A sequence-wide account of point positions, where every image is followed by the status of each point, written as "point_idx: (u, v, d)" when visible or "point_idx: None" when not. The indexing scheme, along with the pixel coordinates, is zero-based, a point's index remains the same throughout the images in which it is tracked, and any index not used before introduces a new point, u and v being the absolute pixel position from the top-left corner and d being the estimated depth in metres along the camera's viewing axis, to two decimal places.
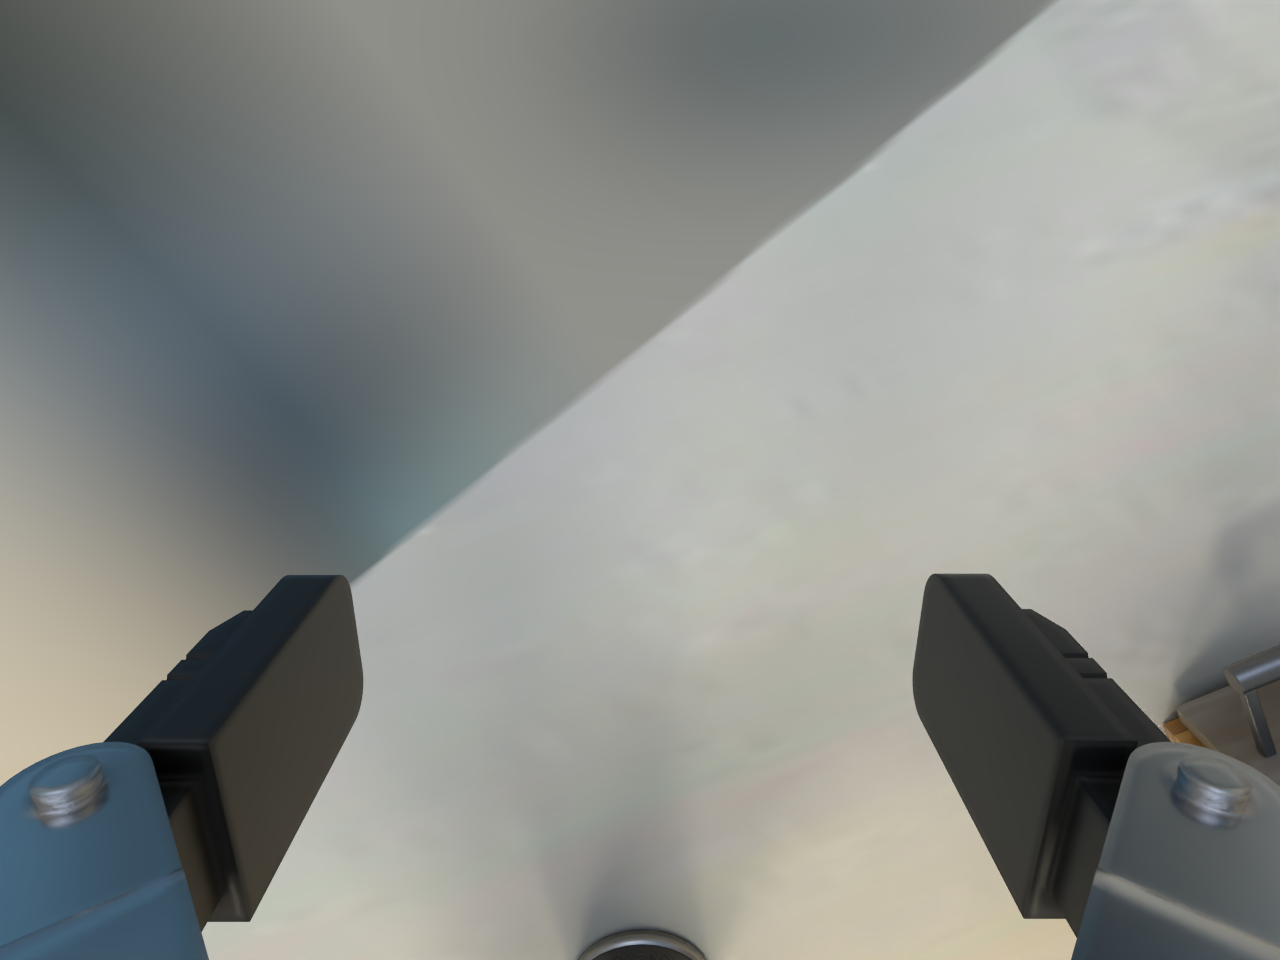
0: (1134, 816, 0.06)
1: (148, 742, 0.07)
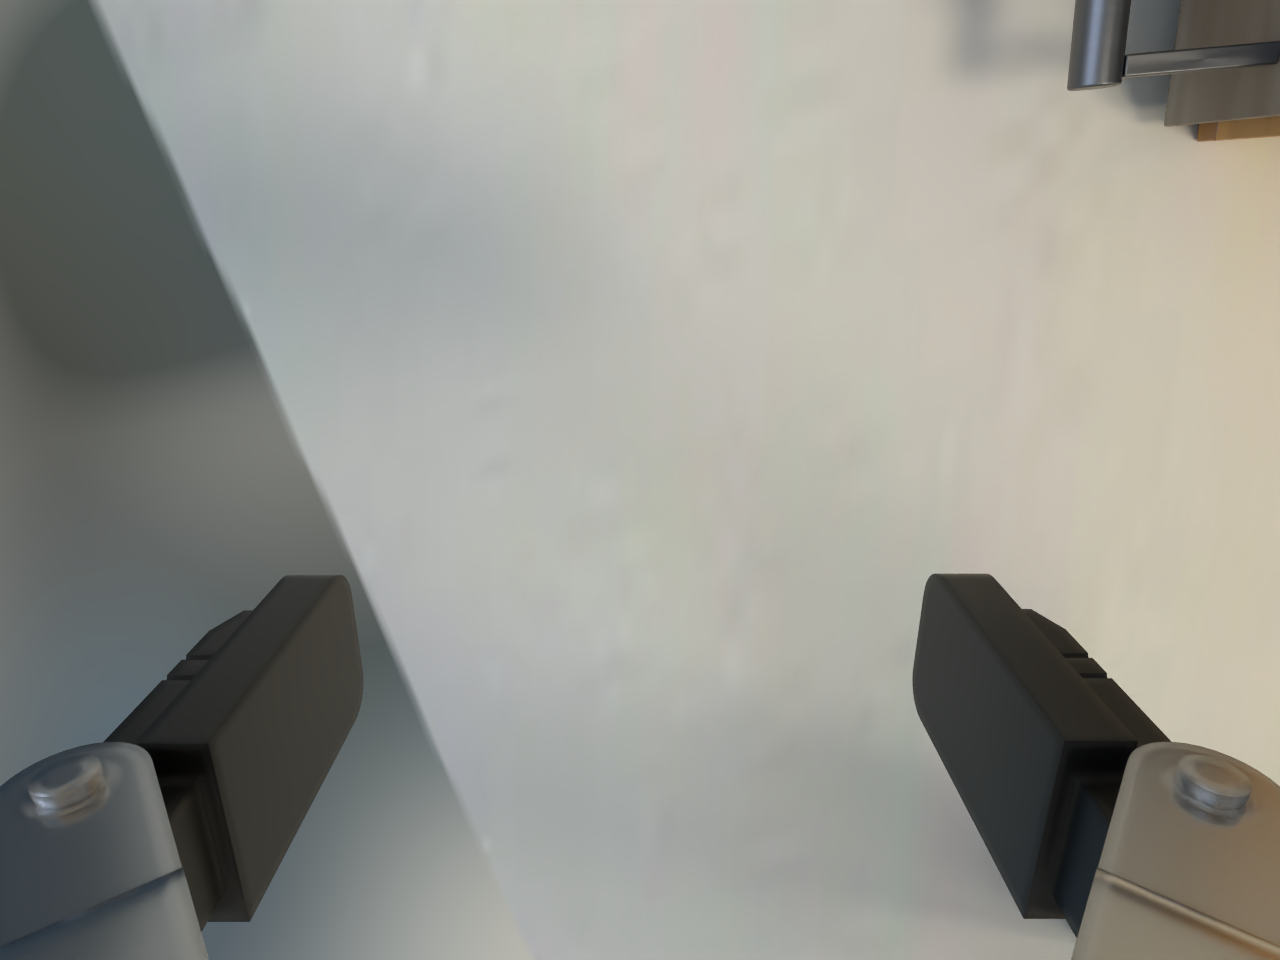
0: (1134, 816, 0.06)
1: (148, 742, 0.07)
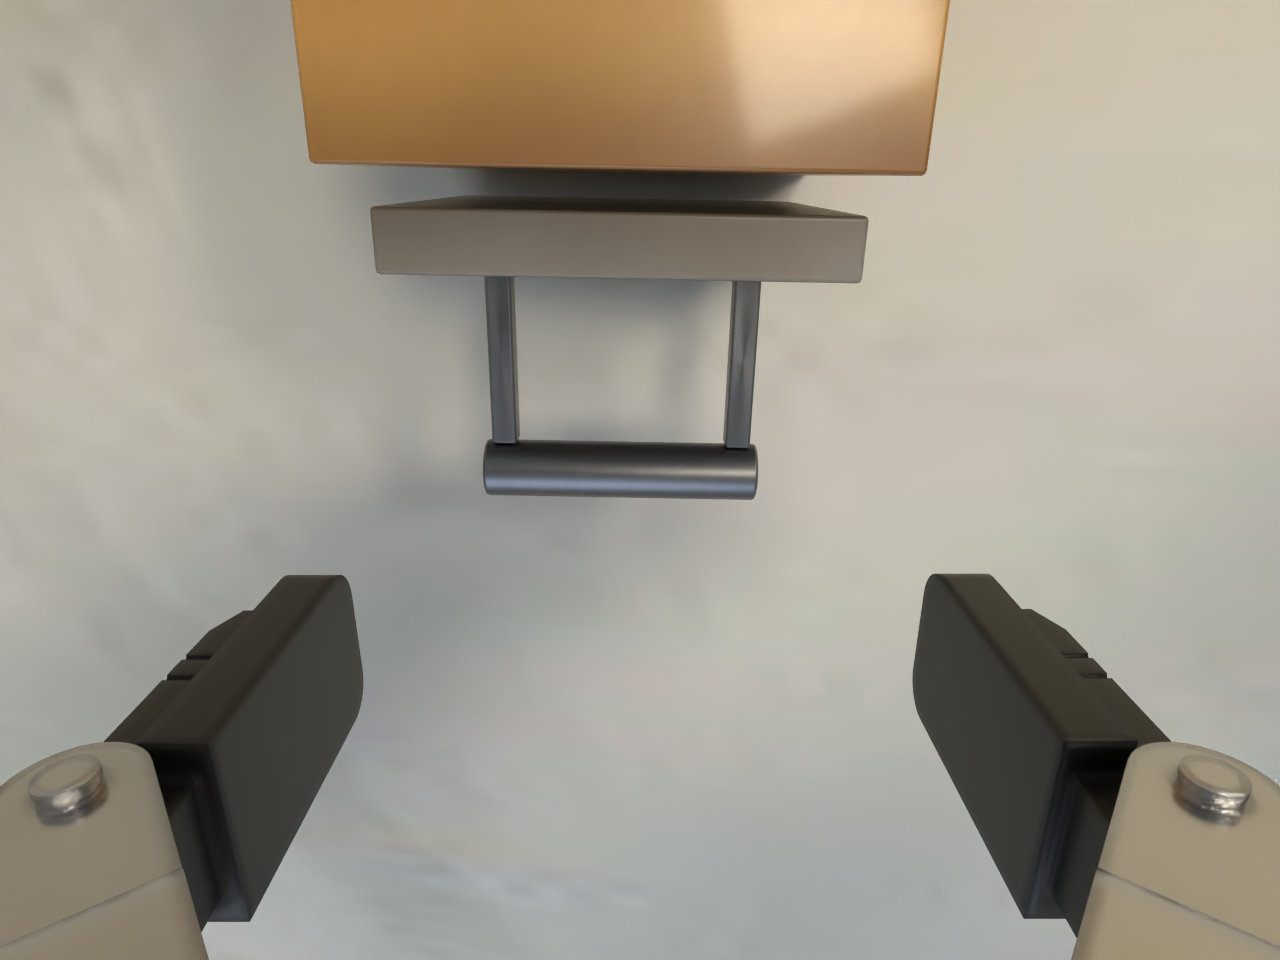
0: (1133, 816, 0.06)
1: (148, 742, 0.07)
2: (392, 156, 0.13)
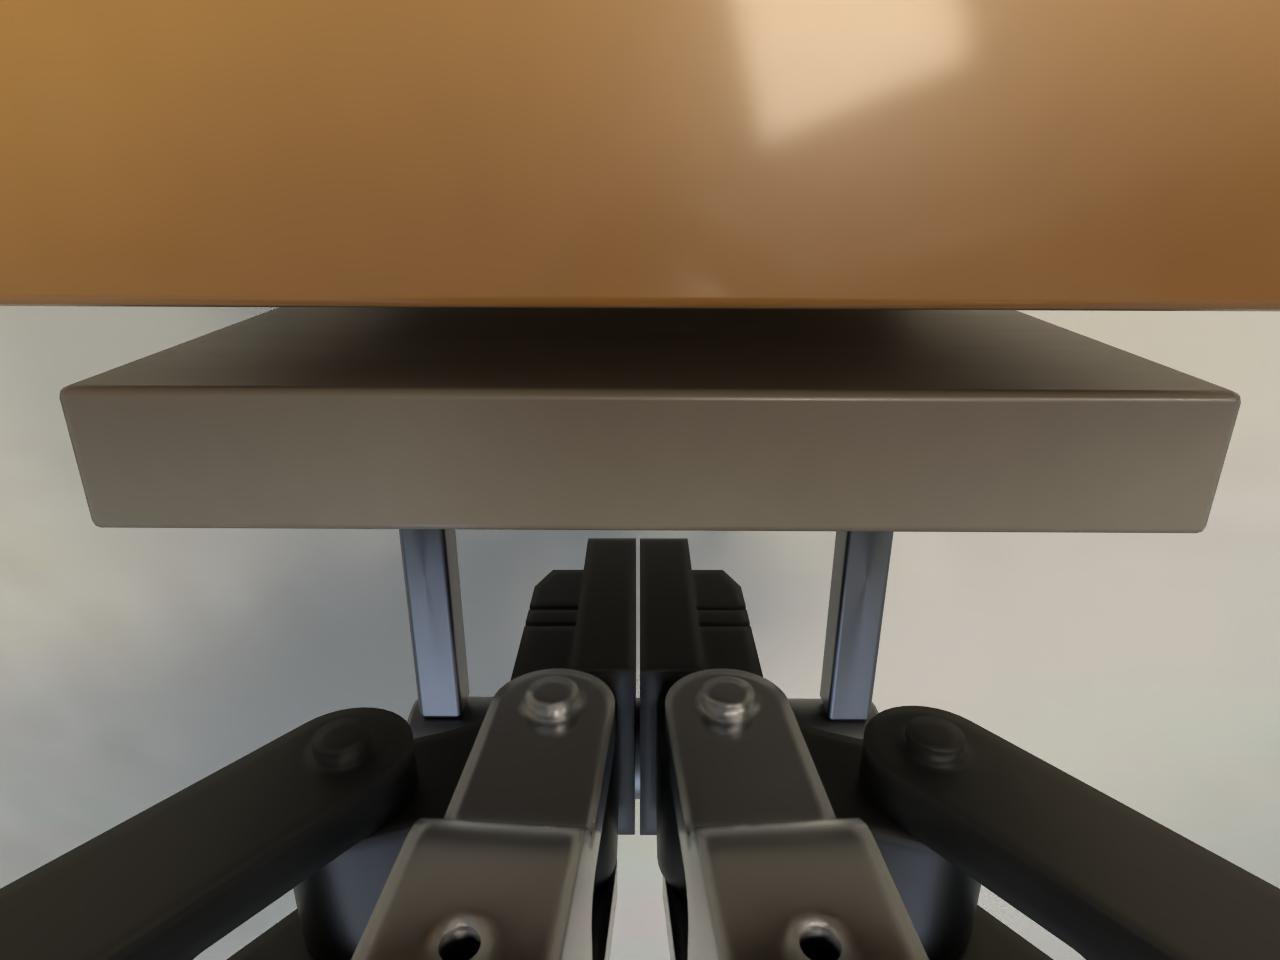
0: (689, 757, 0.07)
1: (582, 670, 0.08)
2: (29, 285, 0.05)
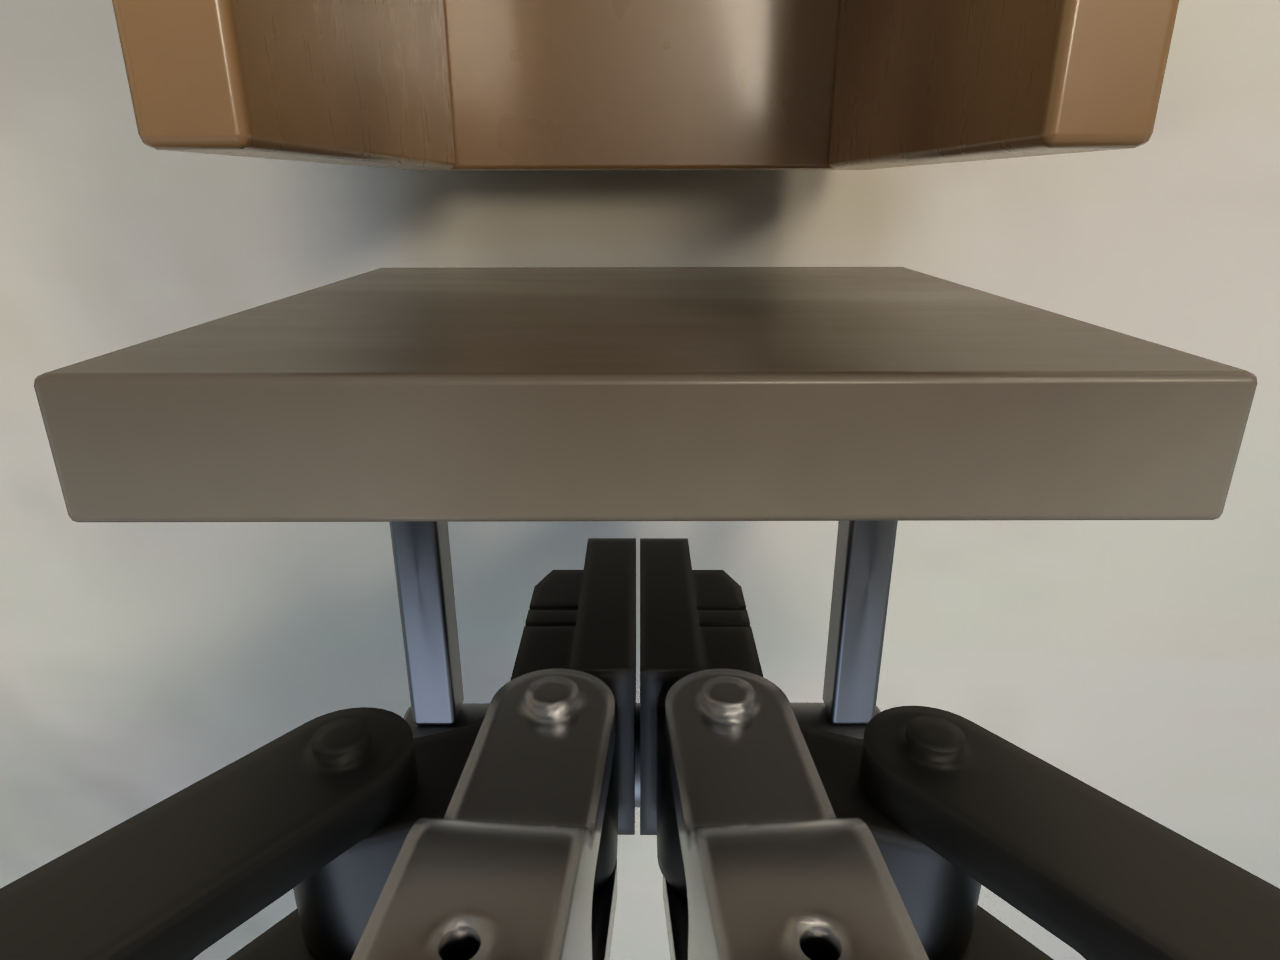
0: (690, 757, 0.07)
1: (582, 669, 0.08)
2: None
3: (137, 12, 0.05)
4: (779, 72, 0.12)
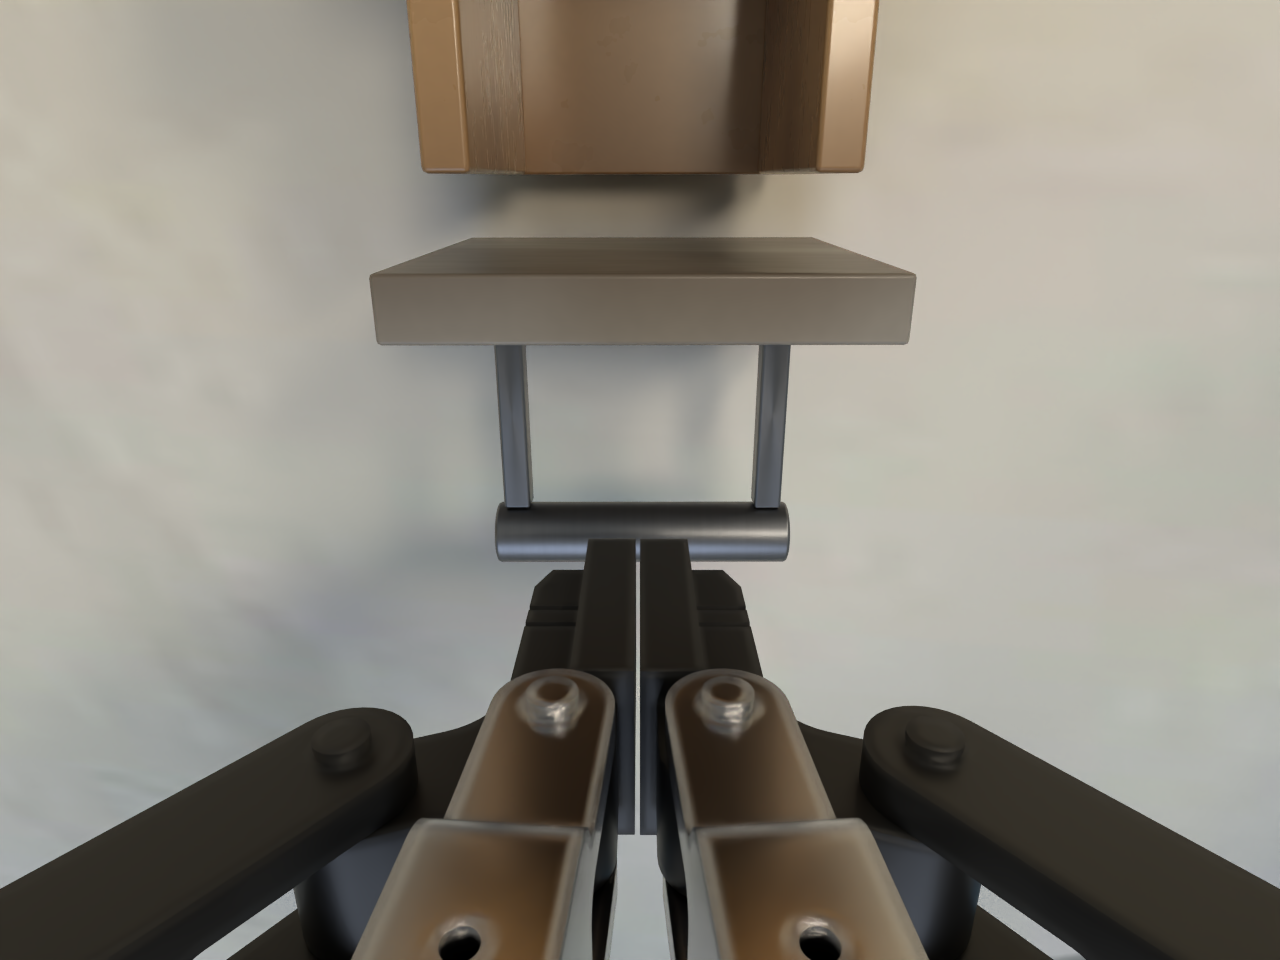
0: (690, 757, 0.07)
1: (582, 670, 0.08)
2: None
3: (427, 116, 0.13)
4: (726, 114, 0.19)
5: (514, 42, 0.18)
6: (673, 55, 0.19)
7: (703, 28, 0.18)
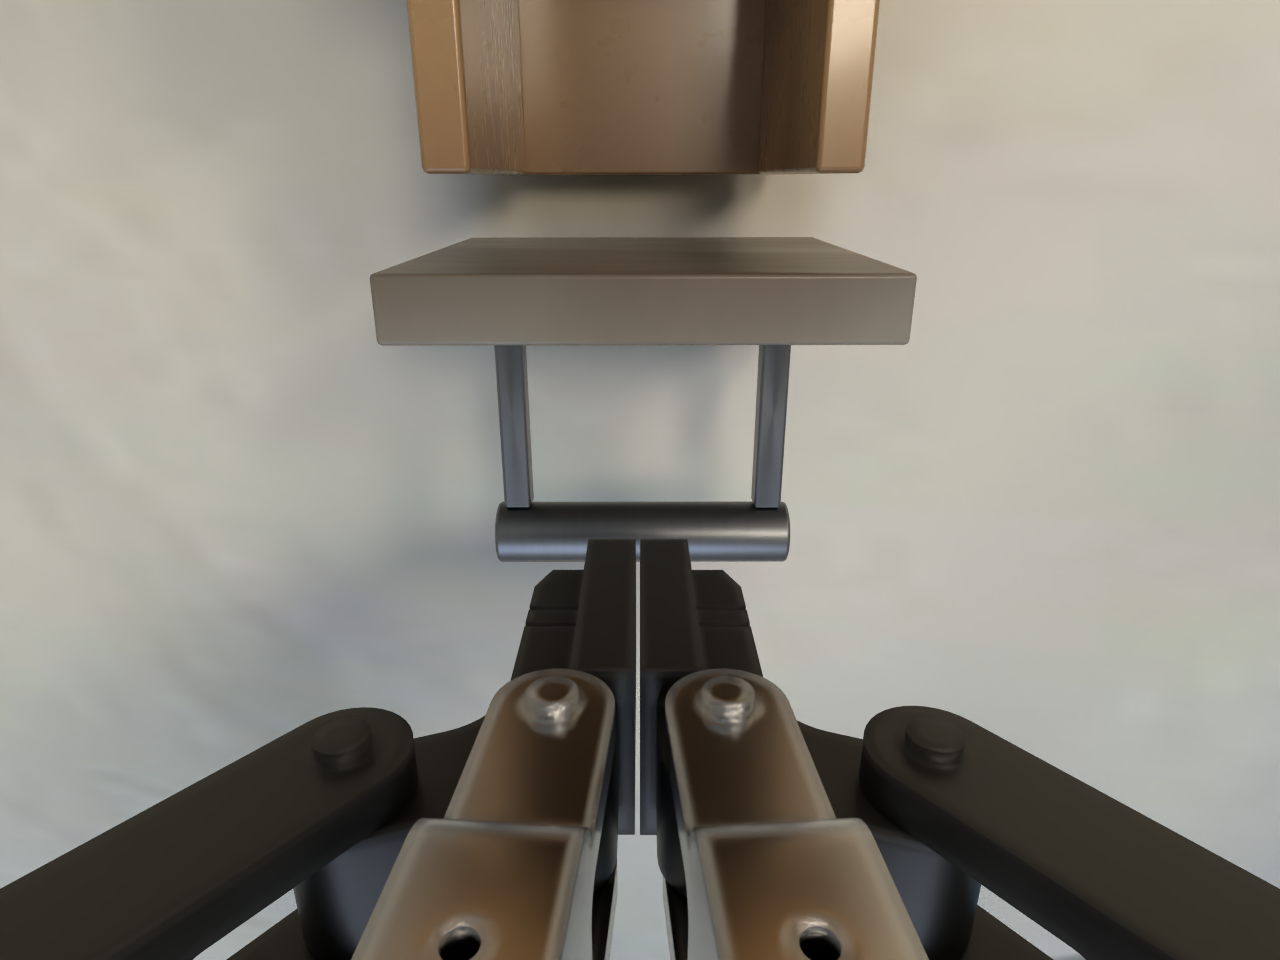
0: (690, 757, 0.07)
1: (582, 670, 0.08)
2: None
3: (428, 116, 0.13)
4: (726, 114, 0.19)
5: (514, 42, 0.18)
6: (673, 55, 0.19)
7: (703, 28, 0.18)
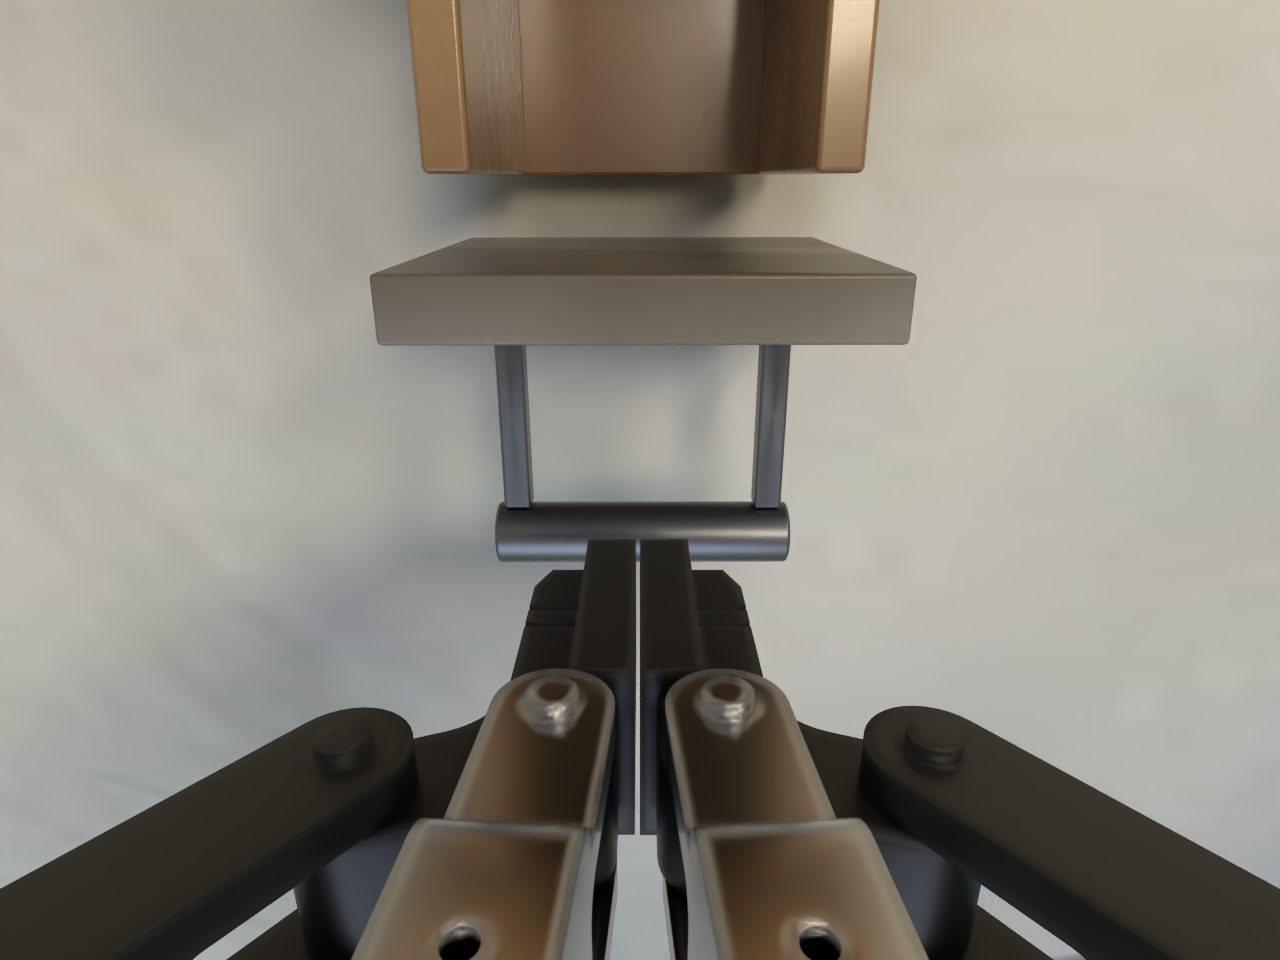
0: (690, 757, 0.07)
1: (582, 670, 0.08)
2: None
3: (427, 116, 0.13)
4: (726, 114, 0.19)
5: (514, 42, 0.18)
6: (673, 55, 0.19)
7: (703, 28, 0.18)
